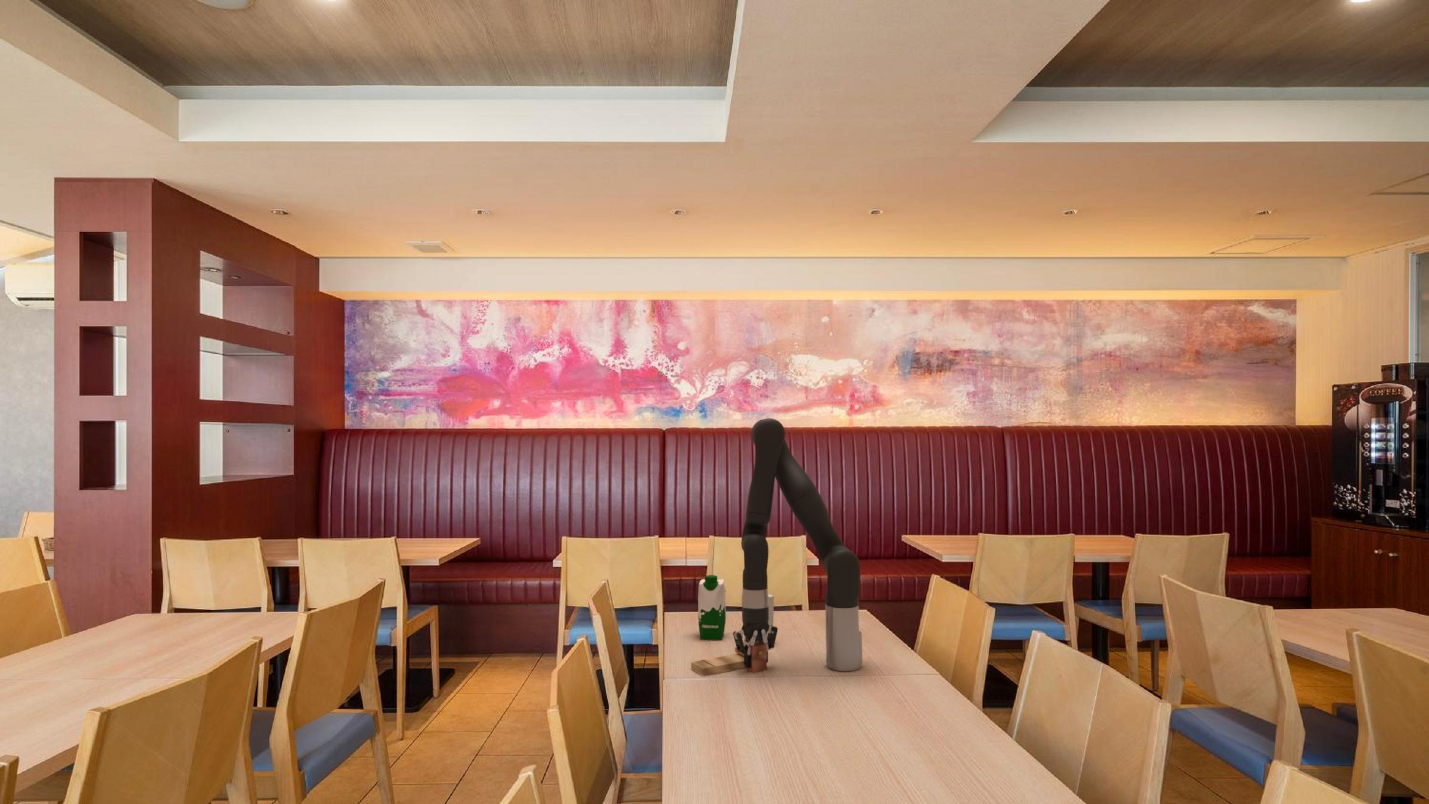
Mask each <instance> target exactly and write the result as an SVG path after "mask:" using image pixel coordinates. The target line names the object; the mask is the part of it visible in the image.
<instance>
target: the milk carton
mask: <svg viewBox="0 0 1429 804" xmlns="http://www.w3.org/2000/svg"><path fill="white" fill-rule="evenodd" d="M697 588H698V590H697V591H698V593H697V601H698V602H697V603H698V605H697V606H698V607H697V608H698V609H697V610H698V613H697V614H698V616H697V617H698V618H697V619H698V622H697V623H698V629H699V631H698V632H699V638H700V639H699V640H700V641H722V640H723V639H724V635H725V630H726V629H725V627H726V622H727V621H726V617H727V615H726V614H727V613H726V611H727V610H726V608H727V606H726V605H727V604H726V602H727V601H726V598H727V597H726V592H727V591H726V585H725V579H718V575H716V574H715V575H714V574H713V575H712V574H707V575H705V576H704V578H703V579H701V580H699V583H698V587H697Z"/></svg>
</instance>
